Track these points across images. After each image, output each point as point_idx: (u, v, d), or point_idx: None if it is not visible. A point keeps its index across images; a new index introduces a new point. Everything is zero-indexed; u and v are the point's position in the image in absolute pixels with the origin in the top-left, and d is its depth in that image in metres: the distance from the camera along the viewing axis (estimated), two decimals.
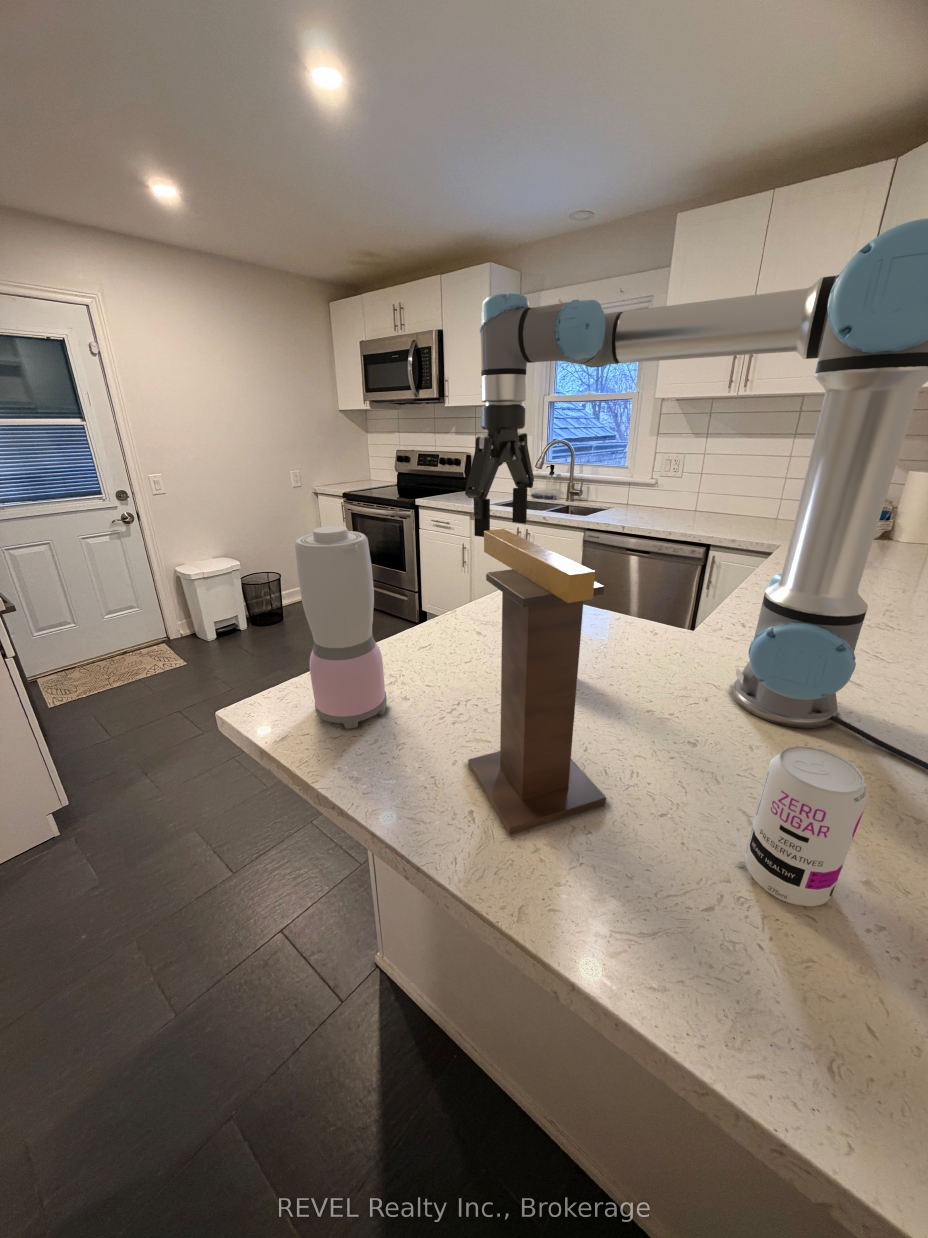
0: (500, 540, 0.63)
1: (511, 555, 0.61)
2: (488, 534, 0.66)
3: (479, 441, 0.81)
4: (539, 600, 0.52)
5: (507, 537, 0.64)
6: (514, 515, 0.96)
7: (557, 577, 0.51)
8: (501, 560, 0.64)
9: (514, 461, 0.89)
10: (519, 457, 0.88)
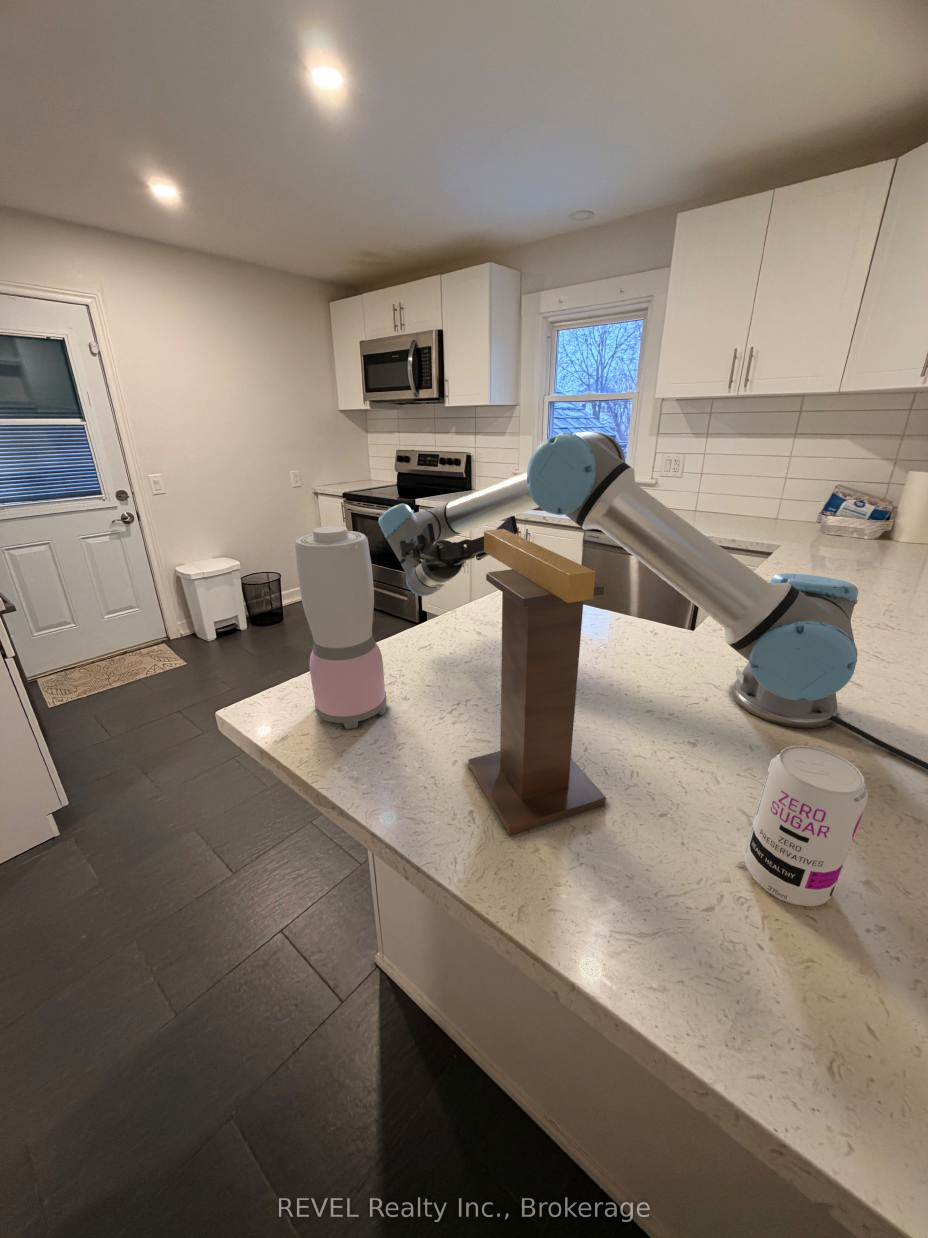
0: (500, 540, 0.63)
1: (511, 555, 0.61)
2: (488, 534, 0.66)
3: None
4: (539, 600, 0.52)
5: (507, 537, 0.64)
6: None
7: (557, 577, 0.51)
8: (501, 560, 0.64)
9: (468, 544, 0.87)
10: (466, 540, 0.88)
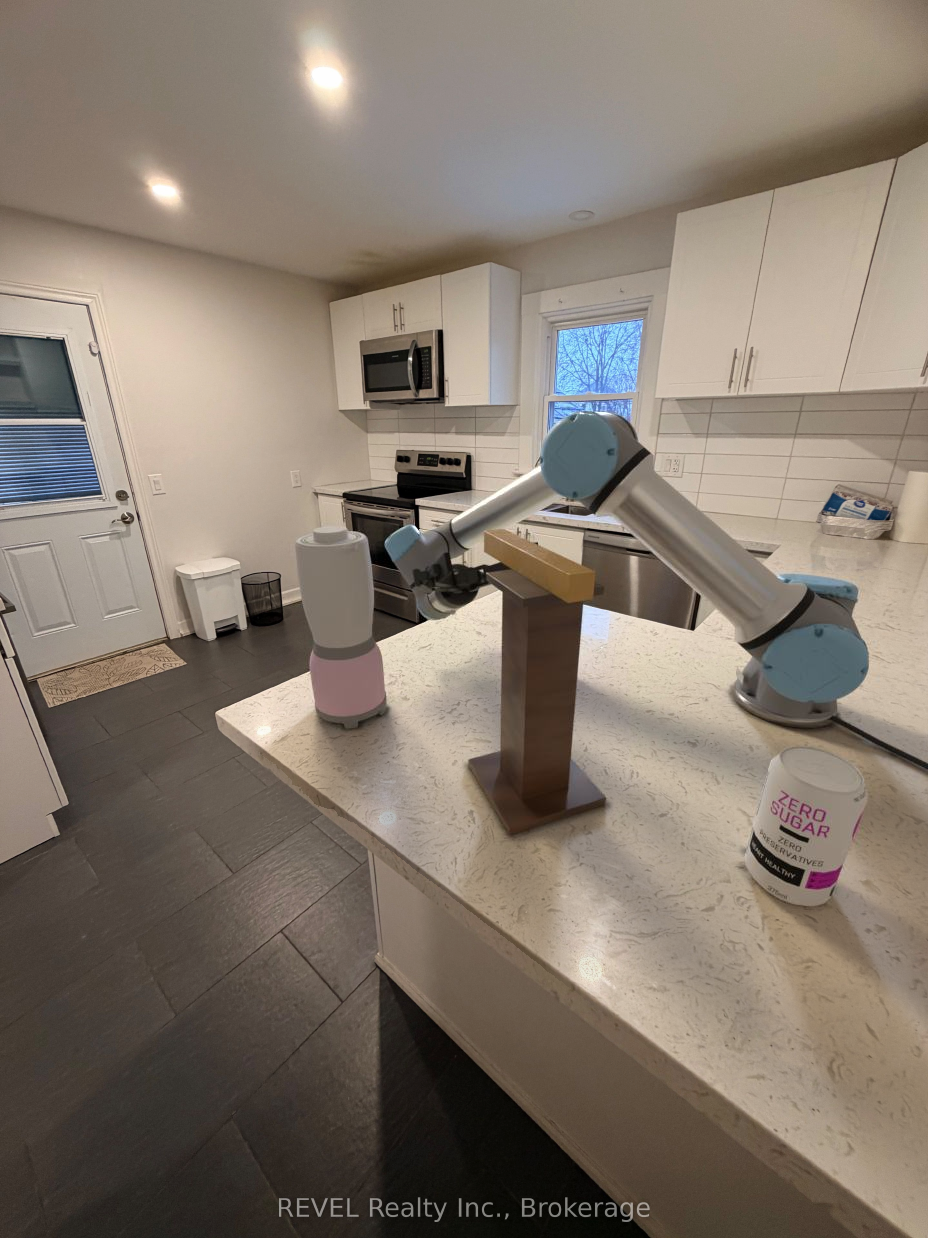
0: (500, 540, 0.63)
1: (511, 555, 0.61)
2: (488, 534, 0.66)
3: None
4: (539, 600, 0.52)
5: (507, 537, 0.64)
6: None
7: (557, 577, 0.51)
8: (501, 560, 0.64)
9: (485, 569, 0.82)
10: (482, 565, 0.82)
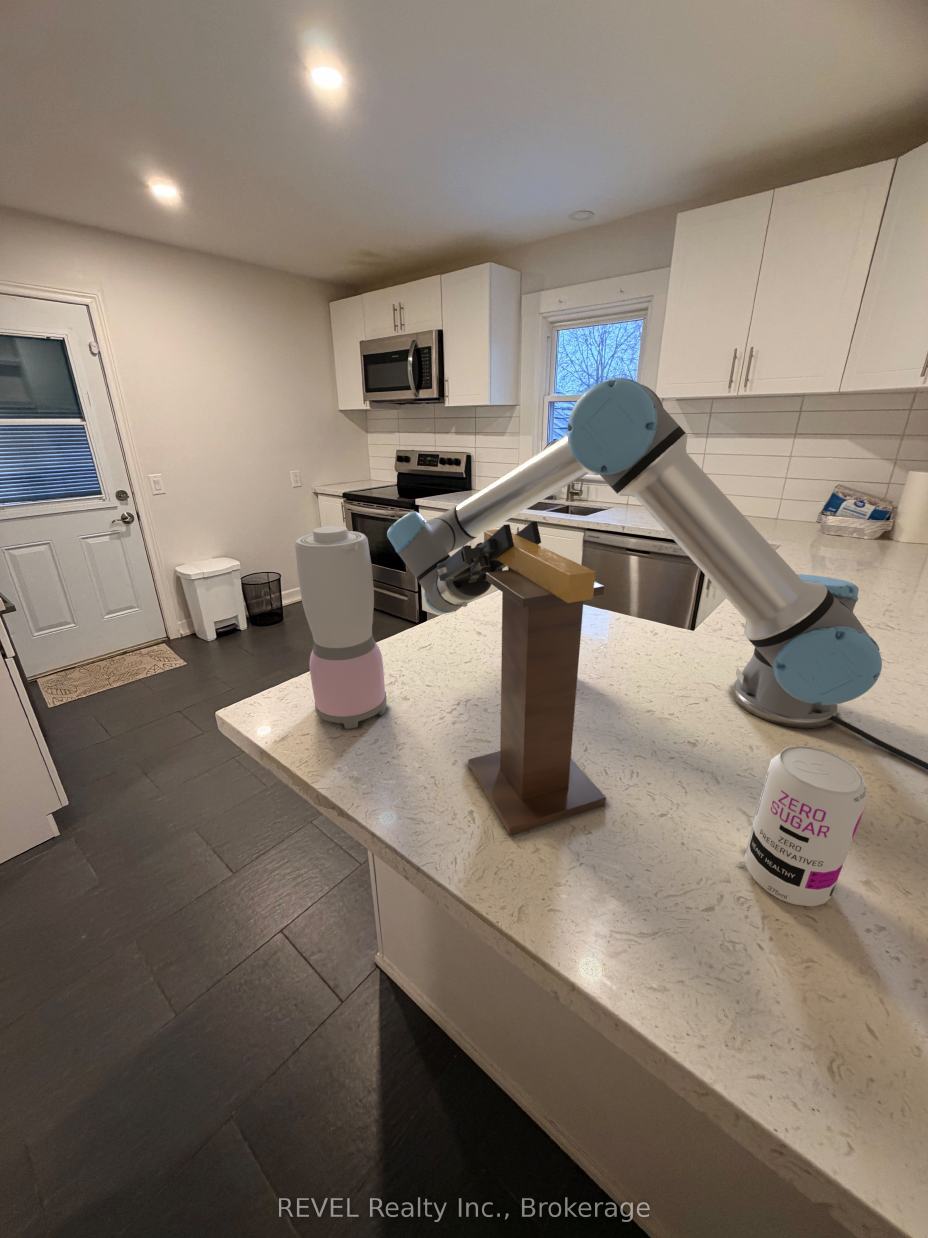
0: None
1: (511, 555, 0.61)
2: (488, 534, 0.66)
3: (441, 574, 0.73)
4: (539, 600, 0.52)
5: None
6: None
7: (557, 577, 0.51)
8: (501, 560, 0.64)
9: None
10: None
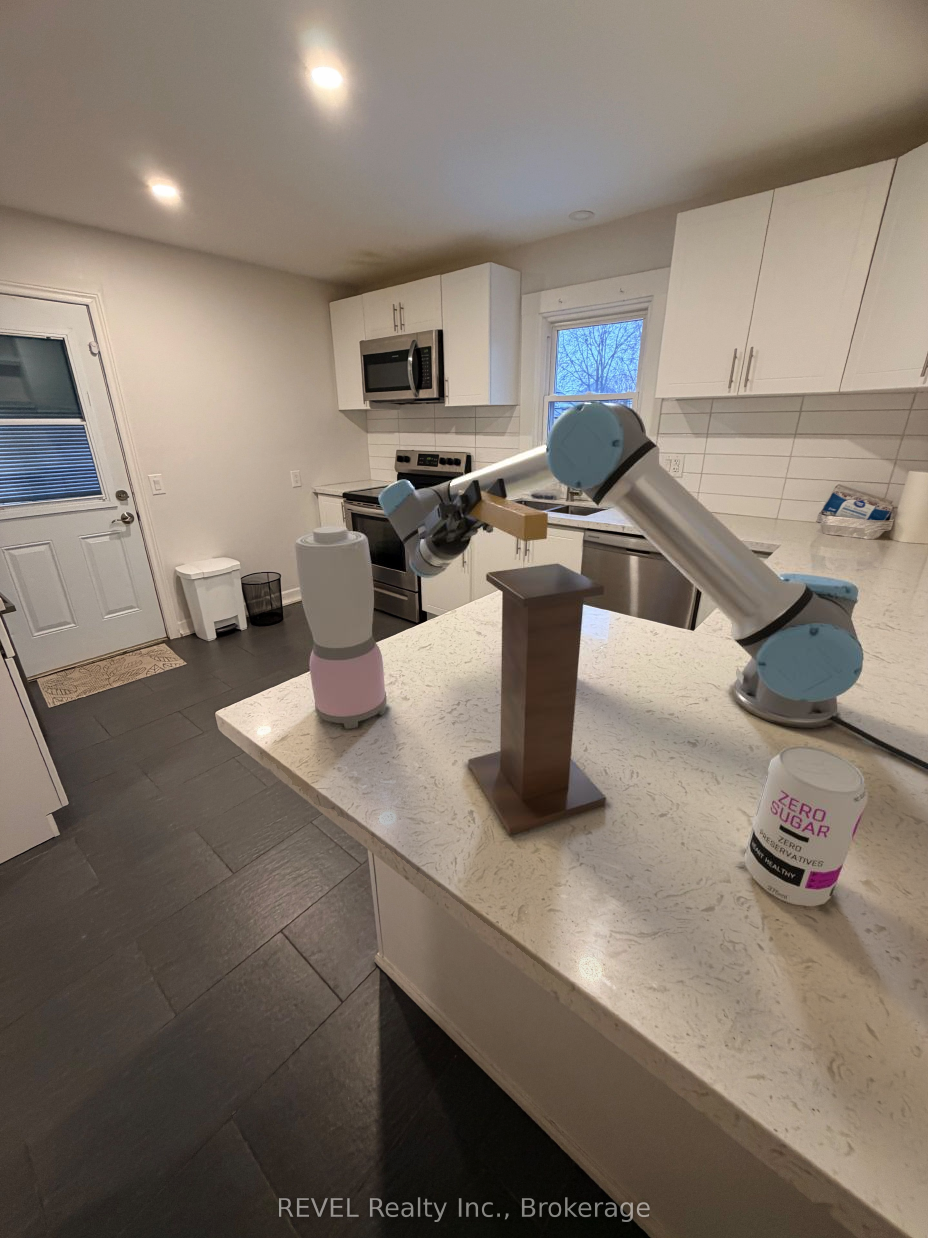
0: None
1: (480, 508, 0.68)
2: (461, 493, 0.74)
3: (420, 532, 0.80)
4: (539, 600, 0.52)
5: None
6: None
7: (515, 520, 0.58)
8: (472, 514, 0.71)
9: (467, 516, 0.81)
10: None
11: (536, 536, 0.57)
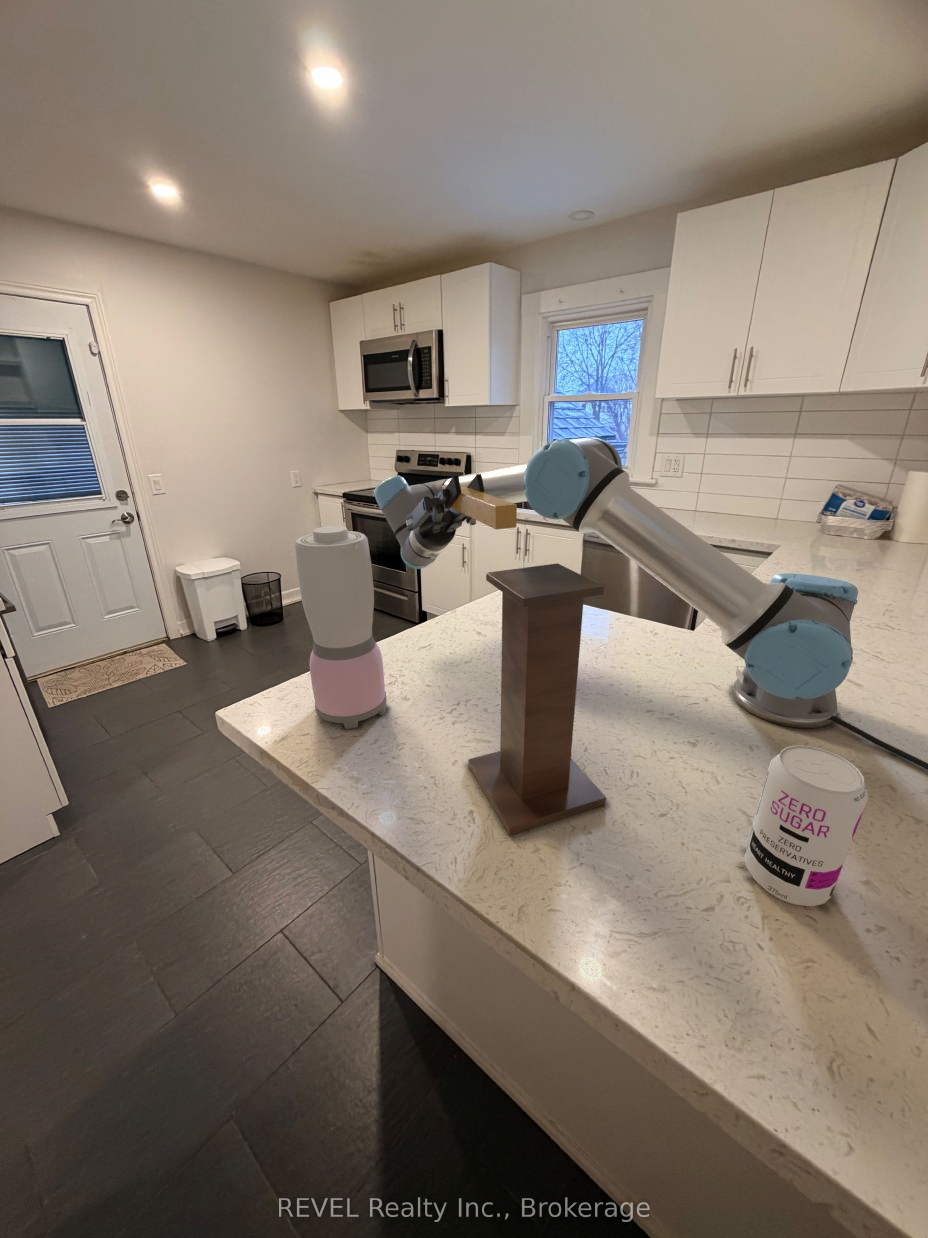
0: None
1: (460, 501, 0.75)
2: (444, 487, 0.81)
3: (408, 524, 0.87)
4: (539, 600, 0.52)
5: None
6: None
7: (488, 510, 0.65)
8: (454, 507, 0.78)
9: (451, 510, 0.87)
10: None
11: (506, 525, 0.64)
